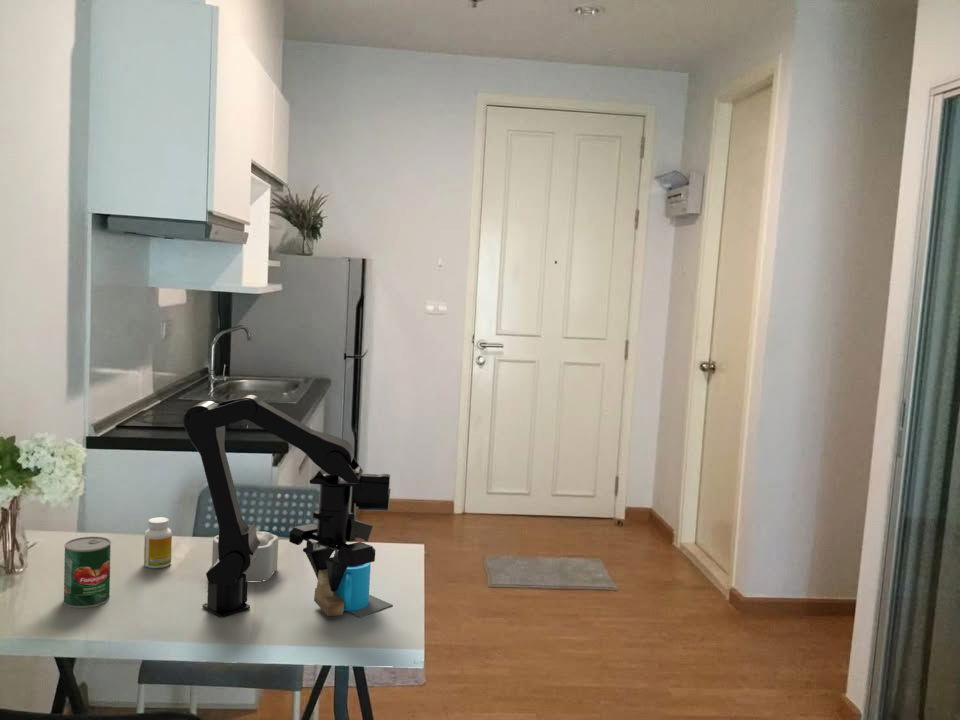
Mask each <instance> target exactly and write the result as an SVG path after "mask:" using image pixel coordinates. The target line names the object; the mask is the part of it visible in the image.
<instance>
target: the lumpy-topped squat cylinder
mask: <svg viewBox="0 0 960 720" xmlns="http://www.w3.org/2000/svg"><path fill="white" fill-rule="evenodd" d="M256 535H257V538H258V540H259V541H260V545H259V546H258V552H257V555H256V557H255V558H254V560H253V561H252V563H251V565H250V566H249V568H248V569H247V570H246V571H245V572H244V574H246V581H263V580H267V579H269V578H270V577H271V578H272V576H273V574H274V573H273V572H275V571H276V570H277V571H278V561H279V560H278V557H279V556H278V555H279V554H278V553H279V537H278V535H276V534H273V533H271V532H268V531H260V530H259V529H258V528H257V527H256ZM218 539H219V534H218V535H216V536H214V537H213V539H212V554H211V555H212V556H211V558H212V559H211V566H212V565H213V564H214V562H215V561H216V560H217V558H218V557H219V553H218ZM277 571H276V572H277ZM276 572H275V573H276ZM272 573H273V574H272ZM271 575H272V576H271ZM271 578H270V579H271ZM270 579H269V580H270ZM267 581H268V580H267ZM263 582H264V581H263Z"/></svg>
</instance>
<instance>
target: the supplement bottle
mask: <svg viewBox="0 0 960 720" xmlns="http://www.w3.org/2000/svg"><path fill="white" fill-rule="evenodd" d="M147 525H148V529H146V531H145V532H144V543H143V545H144V547H143V550H144V551H143V556H144V557H143V564H144V566H145V567H146V568H149V569H163V568H166V567H169V566H170V565H171V563H172V543H173V542H172V536H173V532H172V530H171V528H169V526H170V525H169V518H167V517H162V516H161V517H160V516H158V517H153V518H150V519H148V523H147Z"/></svg>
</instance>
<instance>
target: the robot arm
mask: <svg viewBox="0 0 960 720" xmlns="http://www.w3.org/2000/svg"><path fill="white" fill-rule="evenodd" d="M182 420H183V427H184V430H185V432H186V433H187V436H188V438H189V441H190V443H191V444H192V445H193V447H194V448H195V450H196V451H197V453H199V455H200V459H201V461H202V466H203V470H204V473H205V478H206V482H207V484H208V489H209V493H210V497H211V501H212V505H213V510H214V512H215V517H216V520H217V524H218V535H219V539H218V553H219V557H218V558H217V560H216V561H215V562H214V564H213V565H212V564H211V566H210V568H209V569H208V570H207V571H206V573H205V576H206V579H207V598H206V599H207V602H205V603H203V604H202V605H201V606H202V608H203V609H205V610H207V612H208V611H209V612H210V613H213V615H216V616H218V617H219V618H222V617H226V616H229V615H233V614H237V613H240V612H243V611H247V610H249V609H251V605H250V604H248V603H247V602H248V588H249V587H248V586H249V582H247V581H246V574H244V572H245V571H246V570H247V569H248V568H249V566H250V565H251V563H252V561H253V560H254V558H255V557H256V555H257V552H258V546H259V545H260V541H259V540H258V538H257V535H256V528H257V527H256V524H255V523H253V524H251V525H248V524H247V523H246V522H245V520H244V518H243V515H242V513H241V508H240V504H239V500H238V497H237V492H236V487H235V485H234V481H233V477H232V473H231V469H230V468H231V467H230V465H229V461H228V457H227V453H226V449H225V440H226V426H227V425H231V424H235V423H238V422H241V421H245V420H246V421H249V422H251V423H253V424H255V425H256V426H258V427H259V428H262V429H263V430H265V431H267V432H269V433H271V434H272V435H274V436H276V437H278V438H279V439H282V441H284V442H286V443H288V444H290V445H292V446H293V447H295V448H296V449H299V450H300V451H302V452H303V453H304V454H305V455H306V456H307V457H308V458H309V459H310V460H311V462H313V463H314V464H315V465H316V466H318V467H319V468H320V469H318V471H317V472H316V473H315V474H314V475H312V476H311V478H310V479H309V484H311V485H319V493H318V494H319V496H318V510H317V511H313V512H312V513H313V514H312V515H313V516H312V517H313V518H314V519H317V525H316V524H314V523H308V524H303V525H297V526H294V527H292V529H291V530H290V532H289V541H288V542H289V543H292V544H294V545H295V546H296V545H297V546H299V545H301V544H302V543H303V541H304V540H305V541H306V544H305V545H306V546H305V547H304V548H302V552H303V553H304V554H305V555H306V556H307V559H308V562H309V563H310V565H311V567H312V570H313V572H314V574H315V576H316V579H317V580H318V573H319V570H325V569H327V571H328V577H329V583H330V588H331V591H332V592H334V591H337V589H338V587H339V585H340V582H341V580H342V578H343V575H344V573H345V571H346V569H347V567H348V566H351V567H354V566H358V565H362V564H366V563H370V562H371V563H373V562H375V561H376V549H375V548H374V547H373V546H372V545H371V544H370V545H369V544H367V543H365V542H368V541H369V539H370V536H371V533H372V531H373V527H374V525H372V524H368V523H366V522H364V521H360V520H358V519H355V518H356V517H355V513H353V512H350V505H351V489H352V487H353V494H352V504H354V505H355V508H356V507H358V510H360V511H361V510H364V511H378V512H379V511H380V512H389V510H390V501H391V500H390V499H391V488H390V484H391V483H390V482H391V475H390V474H389V473H381V474H375V473H363V472H364V470H363V469H362V467H361V466H360V464H359V463H358V461H357V460H356V458H355V451H354V447H353V445H352V444H351V443H350V442H349V441H348V440H346V439H344V438H341V437H338V436H335V435H333V434H329V433H325V432H321V431H317V430H314V429H312V428H311V427H309V426H307V425H305V424H303V423H302V422H300V421H299V420H296V419H294V418H293V417H291V416H290V415H288V414H286V413H284V412H282V411H281V410H279V409H277V408H275V406H274V407H273V406H271V405H270V404H268V403H267V402H265V401H263V400H262V399H261V398H260V397H258V396H257V395H254V394H248V395H246V396H244V397H241V398H240V397H239V398H235V399H231V400H230V399H229V400H226V401H221V402H218V403H217V402H215V401H212V400H204V401H201V402H199V403H197V404H196V405H194V406H192V407H191V408H189V409H188V410H187V411H186V413H185V414H184V416H183V419H182ZM356 538H357V539H361V540H363V541H364V542H362V541H357V542H355V541H356ZM347 542H353V543H349V544H348V543H347ZM333 553H334V554H333ZM332 555H333V556H332Z"/></svg>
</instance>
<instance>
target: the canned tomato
mask: <svg viewBox="0 0 960 720" xmlns="http://www.w3.org/2000/svg"><path fill="white" fill-rule="evenodd" d="M111 544H112V541H111V540H110V539H109V538H107V537H103V536H82V537H78V538H73V539H70V540H68V541H67V542H65V543H64V560H63V561H64V563H63V564H64V565H63V566H64V567H63V569H64V571H63V573H64V576H63V577H64V578H63V582H64V583H63V585H64V586H63V604H64V605H65V606H66V607H69V608H74V609H88V608H94V607H98V606H101V605H103V604H105V603H107V602H108V601H109V600H110V597H111V596H110V589H111V588H110V587H111V585H110V584H111Z"/></svg>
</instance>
